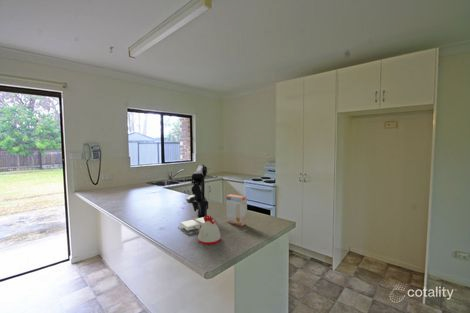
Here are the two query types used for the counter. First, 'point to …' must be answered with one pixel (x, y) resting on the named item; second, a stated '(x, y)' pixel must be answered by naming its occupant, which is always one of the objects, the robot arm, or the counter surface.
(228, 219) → the translucent upright frame
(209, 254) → the counter surface
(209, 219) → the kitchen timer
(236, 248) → the counter surface
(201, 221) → the block
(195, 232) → the switch base
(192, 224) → the rocker
